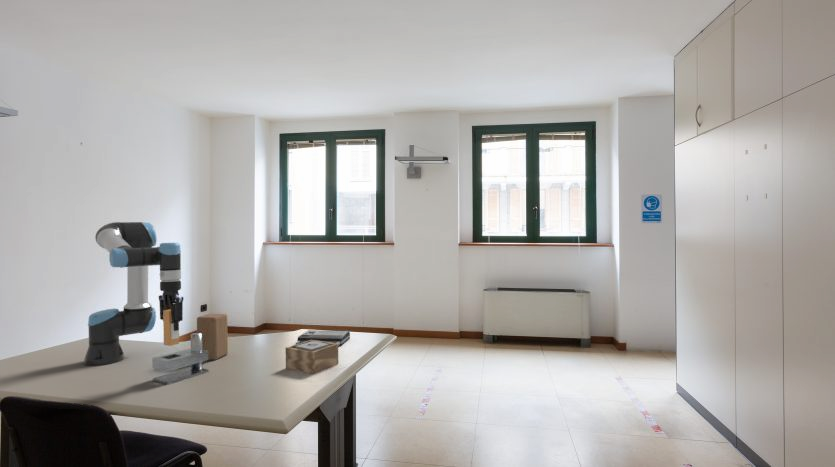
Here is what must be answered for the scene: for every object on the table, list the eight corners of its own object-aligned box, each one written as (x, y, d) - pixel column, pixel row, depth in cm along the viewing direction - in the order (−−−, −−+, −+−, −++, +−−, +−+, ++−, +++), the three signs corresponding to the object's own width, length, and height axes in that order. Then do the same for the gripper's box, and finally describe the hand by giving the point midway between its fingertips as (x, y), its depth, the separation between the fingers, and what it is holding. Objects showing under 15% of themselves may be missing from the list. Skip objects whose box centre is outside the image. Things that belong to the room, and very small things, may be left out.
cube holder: (285, 368, 197) (285, 347, 197) (311, 358, 211) (311, 339, 210) (313, 373, 189) (313, 352, 189) (338, 363, 203) (338, 343, 202)
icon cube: (295, 368, 196) (295, 345, 196) (313, 363, 204) (313, 341, 204) (311, 372, 190) (311, 349, 190) (329, 366, 199) (328, 343, 199)
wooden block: (215, 360, 209) (214, 317, 209) (196, 359, 211) (195, 317, 211) (228, 354, 219) (228, 313, 219) (210, 353, 221) (209, 313, 221)
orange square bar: (163, 344, 183) (163, 310, 183) (173, 342, 187) (172, 308, 187) (169, 345, 181) (169, 311, 181) (179, 343, 185) (178, 309, 185)
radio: (350, 329, 250) (339, 338, 230) (350, 339, 250) (339, 348, 230) (307, 328, 253) (293, 337, 233) (307, 338, 253) (293, 347, 233)
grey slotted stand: (152, 380, 183) (152, 340, 182) (194, 368, 198) (193, 331, 198) (167, 384, 178) (166, 343, 177) (208, 371, 193) (208, 334, 193)
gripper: (149, 280, 185) (150, 337, 185) (174, 282, 177) (175, 342, 177) (167, 278, 192) (168, 333, 192) (192, 280, 183) (193, 338, 183)
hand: (171, 337), depth 184 cm, fingers closed on orange square bar, 4 cm apart
